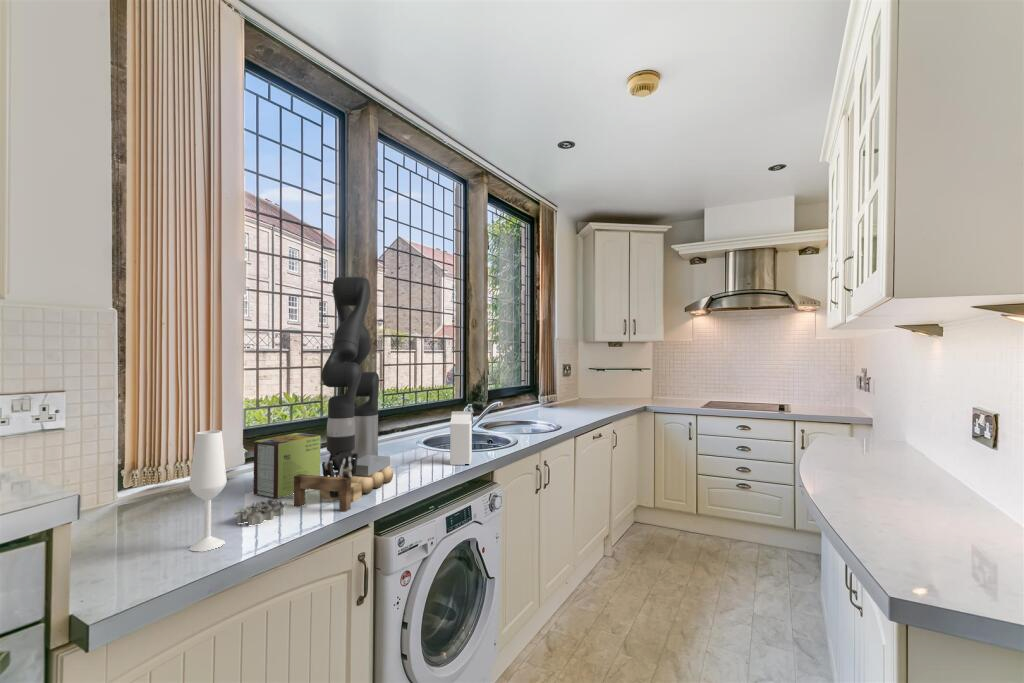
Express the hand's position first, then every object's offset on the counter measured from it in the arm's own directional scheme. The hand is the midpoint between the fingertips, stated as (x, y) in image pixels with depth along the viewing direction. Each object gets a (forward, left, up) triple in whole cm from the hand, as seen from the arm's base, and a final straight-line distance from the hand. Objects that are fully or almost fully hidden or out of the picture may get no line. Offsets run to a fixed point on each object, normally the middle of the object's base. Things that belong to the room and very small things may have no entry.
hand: (340, 494), depth 134 cm
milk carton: (+18, +48, -1) cm, 52 cm away
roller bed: (0, +12, -1) cm, 12 cm away
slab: (0, +14, +3) cm, 15 cm away
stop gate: (0, -8, -1) cm, 8 cm away
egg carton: (-10, -19, -2) cm, 21 cm away
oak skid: (0, 0, -1) cm, 2 cm away
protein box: (-20, +3, -1) cm, 20 cm away
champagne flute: (-8, -36, -1) cm, 37 cm away
